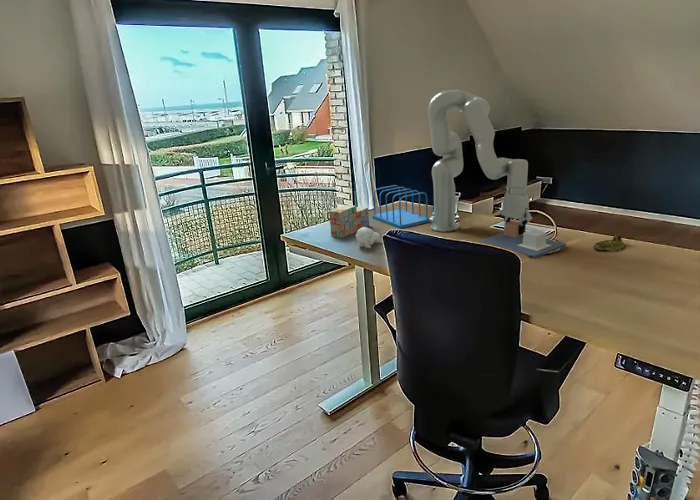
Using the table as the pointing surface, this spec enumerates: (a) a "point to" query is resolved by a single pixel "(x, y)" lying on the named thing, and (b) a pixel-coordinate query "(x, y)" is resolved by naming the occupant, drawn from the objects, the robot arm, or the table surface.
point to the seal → (610, 244)
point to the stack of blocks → (348, 220)
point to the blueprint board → (518, 245)
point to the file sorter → (400, 211)
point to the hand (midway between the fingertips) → (514, 232)
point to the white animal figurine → (366, 237)
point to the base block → (534, 239)
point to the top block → (512, 228)
